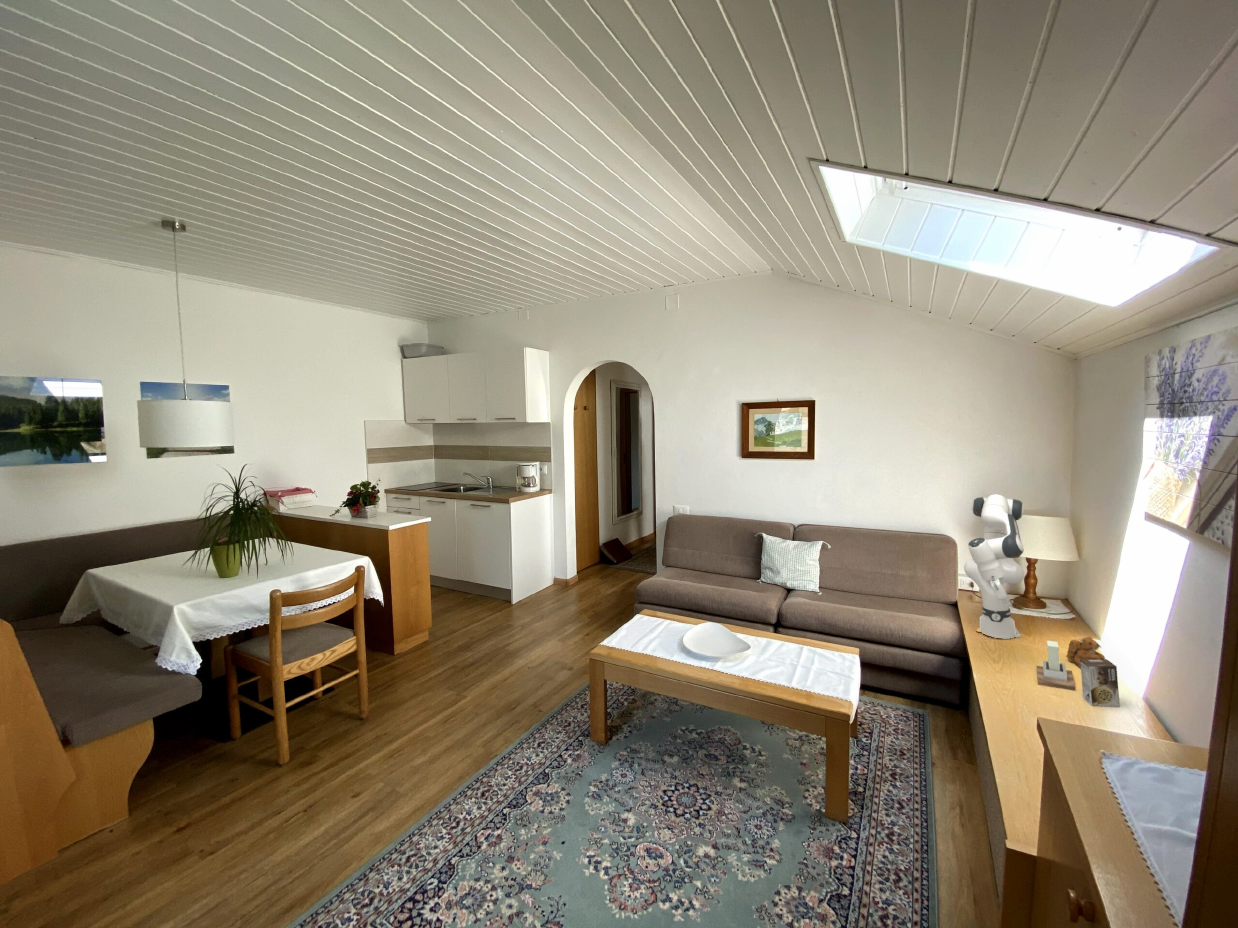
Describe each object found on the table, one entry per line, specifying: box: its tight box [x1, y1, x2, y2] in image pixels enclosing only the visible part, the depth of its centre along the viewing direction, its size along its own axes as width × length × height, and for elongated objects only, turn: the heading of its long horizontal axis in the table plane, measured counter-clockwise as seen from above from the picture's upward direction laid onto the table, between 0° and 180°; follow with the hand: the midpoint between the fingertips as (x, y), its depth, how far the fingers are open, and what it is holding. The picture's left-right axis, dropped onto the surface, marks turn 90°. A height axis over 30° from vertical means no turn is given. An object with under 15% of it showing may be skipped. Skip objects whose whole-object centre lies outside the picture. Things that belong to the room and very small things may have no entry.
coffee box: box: [1080, 658, 1121, 707], centre depth 203 cm, size 9×6×16 cm
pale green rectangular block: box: [1046, 640, 1061, 671], centre depth 223 cm, size 6×4×14 cm, turn 143°
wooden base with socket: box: [1036, 660, 1076, 691], centre depth 223 cm, size 16×12×6 cm
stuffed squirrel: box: [1065, 636, 1106, 669], centre depth 232 cm, size 10×14×13 cm
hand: (1005, 601), depth 237 cm, fingers open, 8 cm apart
